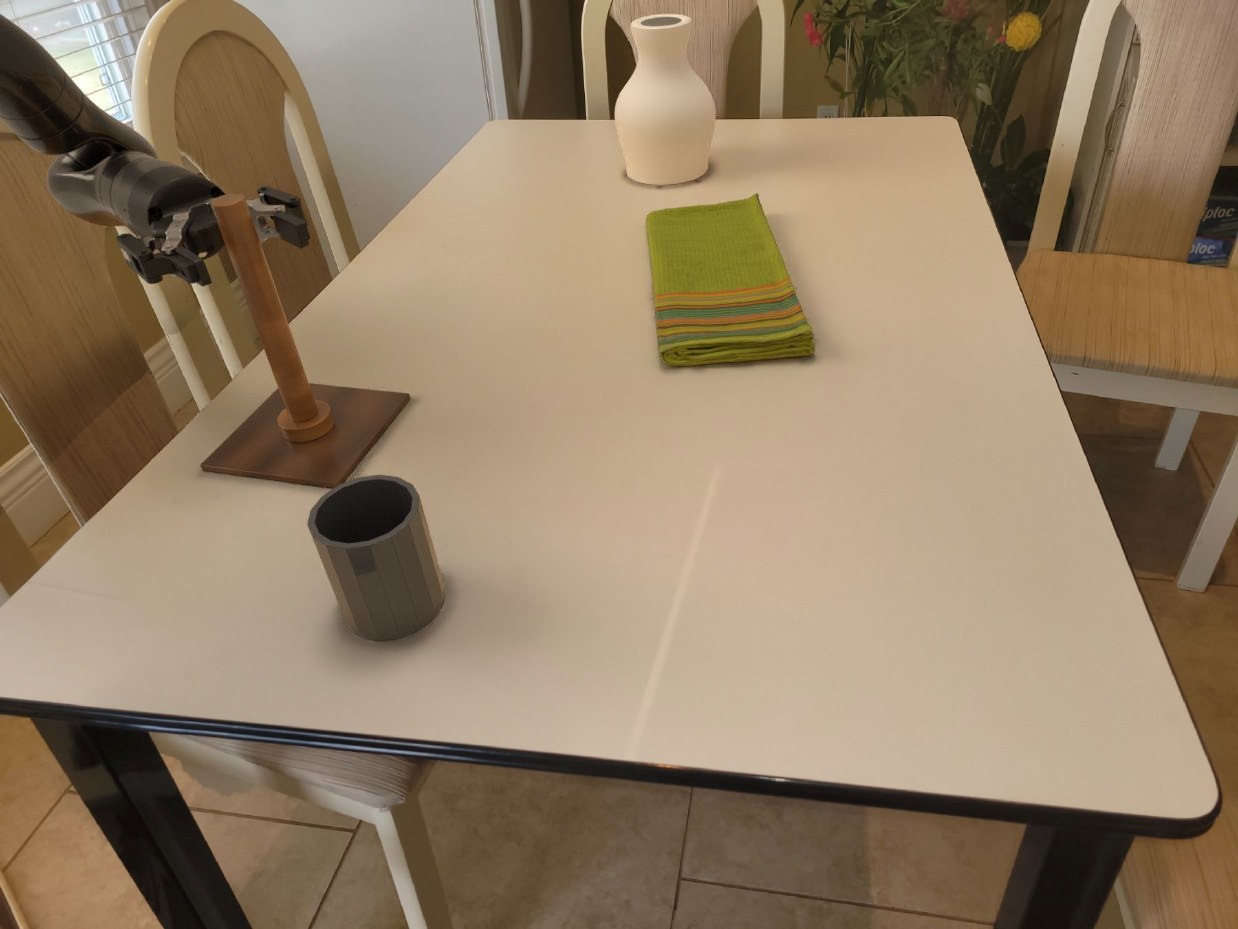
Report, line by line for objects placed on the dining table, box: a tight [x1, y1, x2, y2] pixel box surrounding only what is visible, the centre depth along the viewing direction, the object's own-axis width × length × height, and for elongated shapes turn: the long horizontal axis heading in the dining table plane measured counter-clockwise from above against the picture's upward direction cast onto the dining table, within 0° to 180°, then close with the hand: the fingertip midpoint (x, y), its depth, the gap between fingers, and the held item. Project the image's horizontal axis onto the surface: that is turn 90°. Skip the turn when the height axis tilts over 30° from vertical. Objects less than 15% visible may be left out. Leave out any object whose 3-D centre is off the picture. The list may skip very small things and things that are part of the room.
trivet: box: [199, 382, 411, 489], centre depth 83 cm, size 14×14×1 cm
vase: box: [614, 13, 717, 186], centre depth 124 cm, size 14×14×20 cm
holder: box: [306, 474, 446, 641], centre depth 63 cm, size 7×7×9 cm
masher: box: [210, 193, 334, 442], centre depth 76 cm, size 5×5×22 cm
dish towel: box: [645, 192, 816, 367], centre depth 100 cm, size 15×36×3 cm, turn 1°
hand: (255, 253), depth 71 cm, fingers open, 8 cm apart
